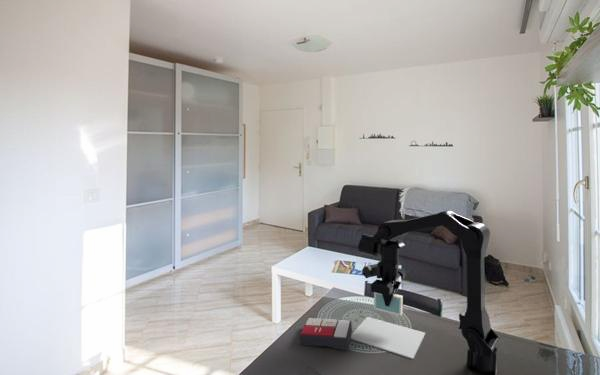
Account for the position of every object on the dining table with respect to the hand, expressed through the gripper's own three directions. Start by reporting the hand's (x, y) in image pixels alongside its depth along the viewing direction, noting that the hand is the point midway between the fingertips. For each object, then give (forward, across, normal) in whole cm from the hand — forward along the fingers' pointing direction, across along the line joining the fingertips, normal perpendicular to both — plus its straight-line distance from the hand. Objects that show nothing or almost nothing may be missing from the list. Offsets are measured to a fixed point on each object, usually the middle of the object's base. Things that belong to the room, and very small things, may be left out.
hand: (388, 304), depth 106 cm
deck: (+2, 0, 0) cm, 2 cm away
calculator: (+9, +15, -15) cm, 23 cm away
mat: (+9, +3, +1) cm, 10 cm away
